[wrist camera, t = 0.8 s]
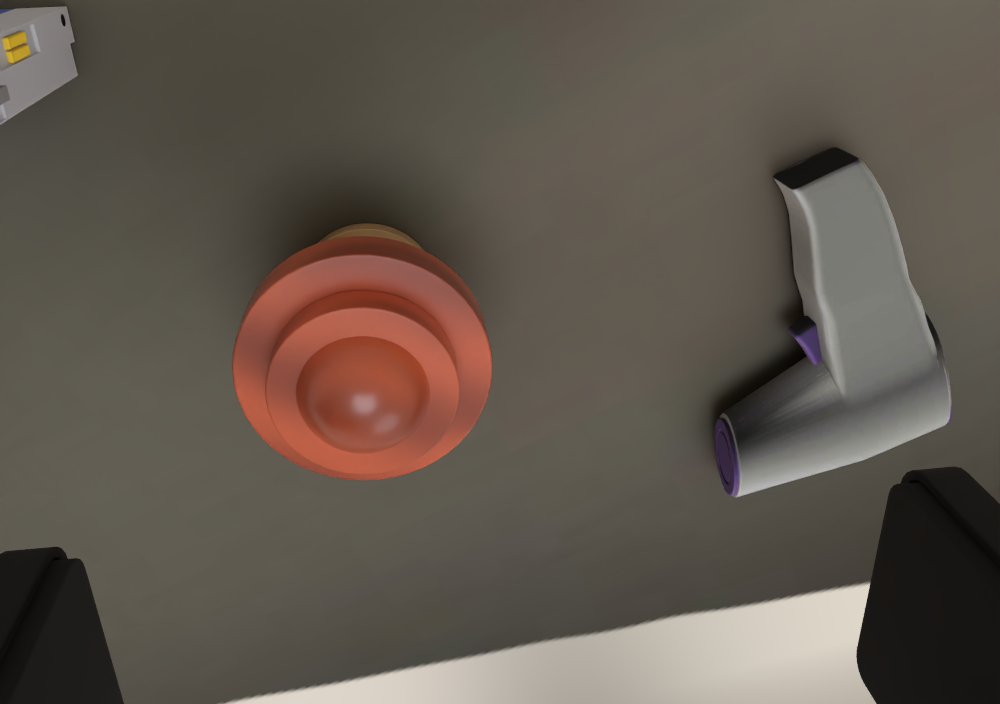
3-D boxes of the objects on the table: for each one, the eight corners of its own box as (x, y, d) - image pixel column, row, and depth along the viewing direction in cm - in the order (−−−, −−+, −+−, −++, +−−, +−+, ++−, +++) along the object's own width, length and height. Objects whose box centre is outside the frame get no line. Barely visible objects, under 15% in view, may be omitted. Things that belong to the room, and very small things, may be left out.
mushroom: (293, 153, 40) (258, 252, 29) (505, 225, 42) (544, 340, 32) (236, 347, 44) (187, 497, 33) (433, 402, 46) (446, 558, 36)
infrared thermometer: (849, 131, 43) (927, 386, 49) (613, 243, 44) (717, 477, 50) (896, 151, 39) (974, 426, 45) (633, 273, 40) (743, 526, 46)
